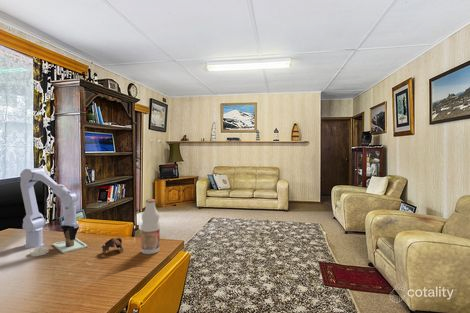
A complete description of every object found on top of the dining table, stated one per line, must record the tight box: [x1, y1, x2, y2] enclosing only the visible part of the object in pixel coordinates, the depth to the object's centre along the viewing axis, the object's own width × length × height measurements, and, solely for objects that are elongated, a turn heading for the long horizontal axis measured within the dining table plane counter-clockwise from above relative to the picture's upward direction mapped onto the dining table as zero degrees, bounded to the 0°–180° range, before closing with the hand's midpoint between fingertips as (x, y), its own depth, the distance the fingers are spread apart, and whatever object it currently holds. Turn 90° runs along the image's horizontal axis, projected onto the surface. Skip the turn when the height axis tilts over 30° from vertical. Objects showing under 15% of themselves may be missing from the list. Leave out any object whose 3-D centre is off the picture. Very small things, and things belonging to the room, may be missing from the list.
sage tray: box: [52, 237, 89, 254], centre depth 145 cm, size 18×12×2 cm, turn 49°
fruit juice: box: [140, 198, 161, 255], centre depth 140 cm, size 9×9×28 cm
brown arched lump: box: [101, 237, 124, 254], centre depth 139 cm, size 12×10×8 cm
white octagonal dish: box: [29, 246, 49, 257], centre depth 134 cm, size 7×7×2 cm
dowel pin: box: [65, 231, 74, 247], centre depth 145 cm, size 4×4×8 cm
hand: (70, 238), depth 145 cm, fingers open, 5 cm apart
